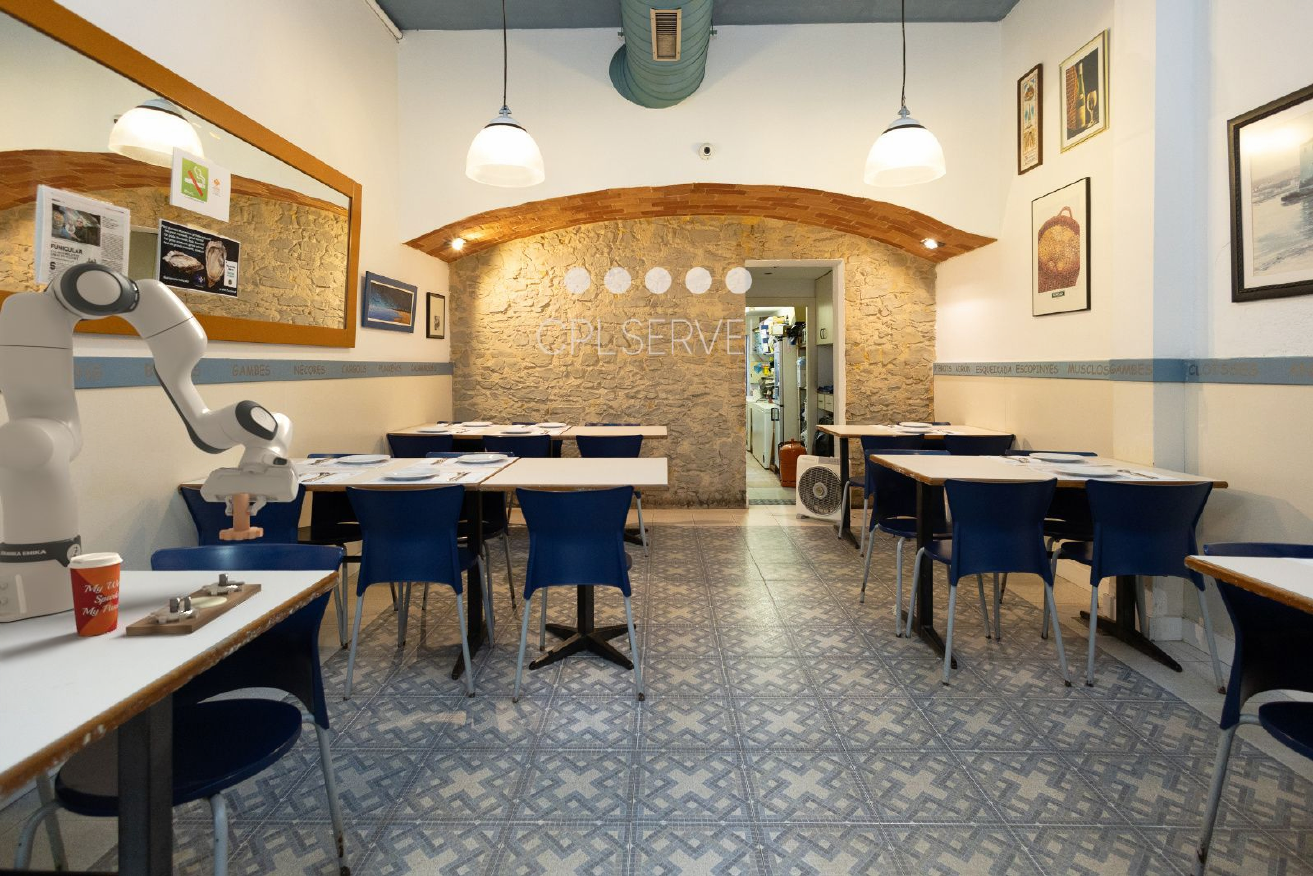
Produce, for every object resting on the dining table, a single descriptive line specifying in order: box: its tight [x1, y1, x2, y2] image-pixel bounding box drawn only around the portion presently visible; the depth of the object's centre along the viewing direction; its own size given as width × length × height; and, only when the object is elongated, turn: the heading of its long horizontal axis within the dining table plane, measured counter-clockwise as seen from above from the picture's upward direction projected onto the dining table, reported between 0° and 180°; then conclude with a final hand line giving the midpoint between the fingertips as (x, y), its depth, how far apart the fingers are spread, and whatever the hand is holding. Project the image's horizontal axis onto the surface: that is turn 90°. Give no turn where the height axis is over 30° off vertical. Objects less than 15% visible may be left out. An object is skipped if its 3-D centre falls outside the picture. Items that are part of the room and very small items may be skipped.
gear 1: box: [148, 596, 200, 624], centre depth 124 cm, size 8×8×4 cm
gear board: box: [125, 583, 262, 636], centre depth 133 cm, size 11×28×2 cm, turn 8°
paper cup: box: [67, 551, 123, 637], centre depth 120 cm, size 8×8×14 cm
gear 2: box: [201, 573, 246, 596], centre depth 141 cm, size 8×8×4 cm
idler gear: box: [218, 493, 264, 541], centre depth 151 cm, size 8×8×10 cm
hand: (240, 514), depth 151 cm, fingers closed on idler gear, 3 cm apart
